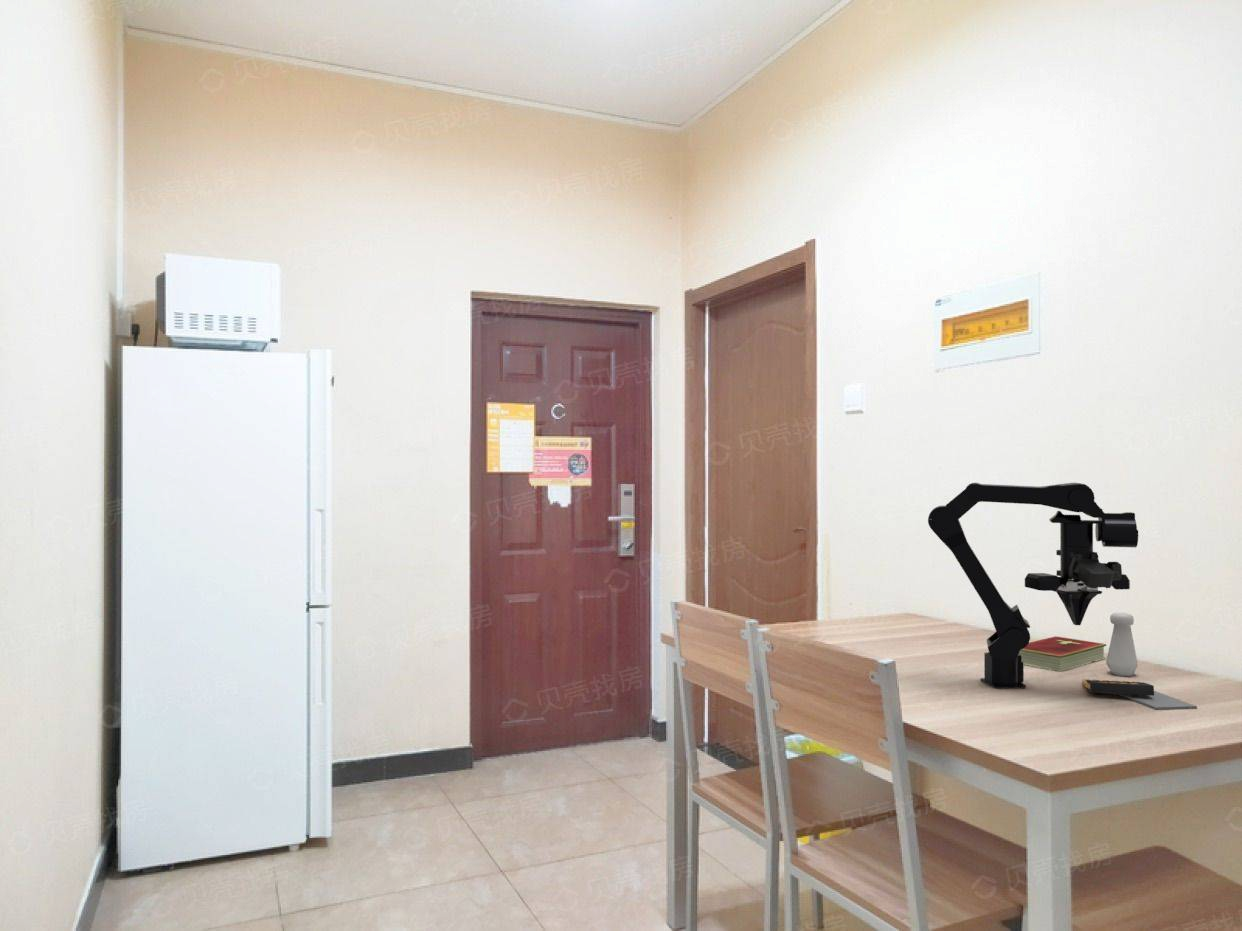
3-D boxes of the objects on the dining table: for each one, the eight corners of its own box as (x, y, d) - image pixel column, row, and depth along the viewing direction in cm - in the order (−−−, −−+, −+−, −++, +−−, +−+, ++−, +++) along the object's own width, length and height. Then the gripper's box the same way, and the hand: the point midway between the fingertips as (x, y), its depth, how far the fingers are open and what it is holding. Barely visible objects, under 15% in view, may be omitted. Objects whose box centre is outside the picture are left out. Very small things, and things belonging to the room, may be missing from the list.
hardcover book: (1007, 664, 195) (1007, 645, 195) (1054, 652, 207) (1054, 634, 208) (1061, 674, 185) (1061, 654, 185) (1106, 661, 198) (1106, 642, 198)
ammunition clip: (1090, 682, 165) (1077, 676, 176) (1090, 692, 165) (1078, 685, 176) (1153, 685, 162) (1137, 678, 173) (1154, 695, 161) (1137, 688, 173)
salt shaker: (1106, 675, 182) (1106, 614, 182) (1105, 669, 187) (1105, 610, 187) (1138, 678, 179) (1138, 616, 179) (1136, 672, 184) (1136, 612, 185)
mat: (1155, 709, 156) (1155, 707, 156) (1112, 692, 168) (1112, 690, 168) (1197, 708, 157) (1197, 706, 157) (1150, 691, 169) (1150, 689, 169)
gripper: (1056, 550, 161) (1056, 633, 161) (1149, 549, 163) (1150, 631, 163) (1022, 545, 172) (1023, 623, 172) (1110, 544, 174) (1111, 621, 174)
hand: (1076, 625), depth 170 cm, fingers closed
